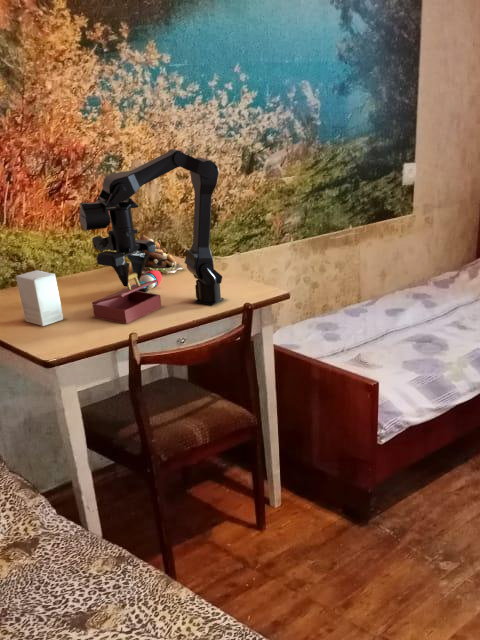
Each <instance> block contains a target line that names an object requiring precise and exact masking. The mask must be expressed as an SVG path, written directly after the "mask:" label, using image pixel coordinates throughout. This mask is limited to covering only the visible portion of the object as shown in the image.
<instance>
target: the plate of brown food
mask: <svg viewBox="0 0 480 640" xmlns="http://www.w3.org/2000/svg"><path fill="white" fill-rule="evenodd" d="M136 238H137V239H136V240H139V239H140V240H148V241H152V242H153V243H154V244H155V249H156V251H155V252H152V253H148V252H147V250H144V252H145V254H147V255H149V257H148V258H147V261H146V263H145V266H144V268H143V271H142V274H143V275H145V273H147V272H149V271H152V270H156V271H159V272H160V273H161V274H162V273H163V274H170V273H172V274H175V273H176V272H177V271H178V270H184V265H183V264H182V263H177V262H176V260H175V259H174V258H173V256H172V255H170V254H168V253H166V251H167V249H166V248H165V247H163V246H161V240H160V239H159V240H153V238H150V237H148V236H147V235H145V233H143V232H141V236H140V235H138V236H137V237H136Z"/></svg>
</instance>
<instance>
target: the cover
mask: <svg viewBox="0 0 480 640" xmlns="http://www.w3.org/2000/svg"><path fill="white" fill-rule="evenodd" d="M137 277H138V275H137V273H133V272H132V273H129V278H128V286H127V287H124V288H123V289H120V290H118V291H115V292H113V293H111V294H108V295H106V296H104V297H101V298H99V299H95V300H94V301H91V304H92V305H93V304H96V303H100V302H104V301H107V300H111V299H115V298H119V297H123V296H125V295H127V294H130V293H132V292H134V291H137V290H139V289H141V288H144V287H146V286H149V285H151V284H153V283H156V282H158V280H153V281H149V282H146V283H142V284H140V283H139V281H138V278H137ZM131 280H134V281H135V286H132V285H131V284H130V282H129V281H131ZM136 284H137V285H136Z"/></svg>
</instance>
